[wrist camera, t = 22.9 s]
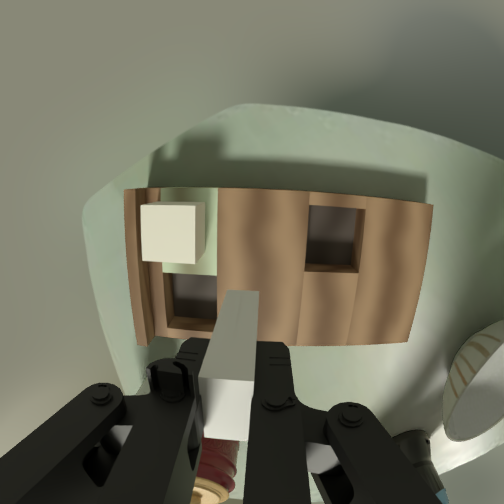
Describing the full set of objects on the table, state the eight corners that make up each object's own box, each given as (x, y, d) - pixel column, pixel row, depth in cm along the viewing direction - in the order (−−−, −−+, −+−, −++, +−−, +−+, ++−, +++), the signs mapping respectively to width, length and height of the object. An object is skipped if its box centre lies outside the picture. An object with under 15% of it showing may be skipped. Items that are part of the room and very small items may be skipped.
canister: (205, 405, 45) (185, 484, 28) (253, 439, 47) (249, 513, 30) (163, 428, 48) (138, 494, 30) (209, 458, 50) (196, 522, 32)
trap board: (418, 202, 35) (445, 207, 28) (397, 329, 40) (415, 352, 33) (147, 187, 36) (124, 189, 30) (154, 321, 41) (137, 344, 34)
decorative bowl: (424, 322, 40) (461, 361, 28) (521, 278, 37) (559, 298, 25) (414, 422, 46) (434, 460, 34) (501, 376, 43) (526, 403, 31)
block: (205, 202, 33) (195, 205, 28) (204, 252, 34) (195, 264, 29) (157, 201, 33) (140, 205, 28) (158, 249, 34) (142, 260, 29)
